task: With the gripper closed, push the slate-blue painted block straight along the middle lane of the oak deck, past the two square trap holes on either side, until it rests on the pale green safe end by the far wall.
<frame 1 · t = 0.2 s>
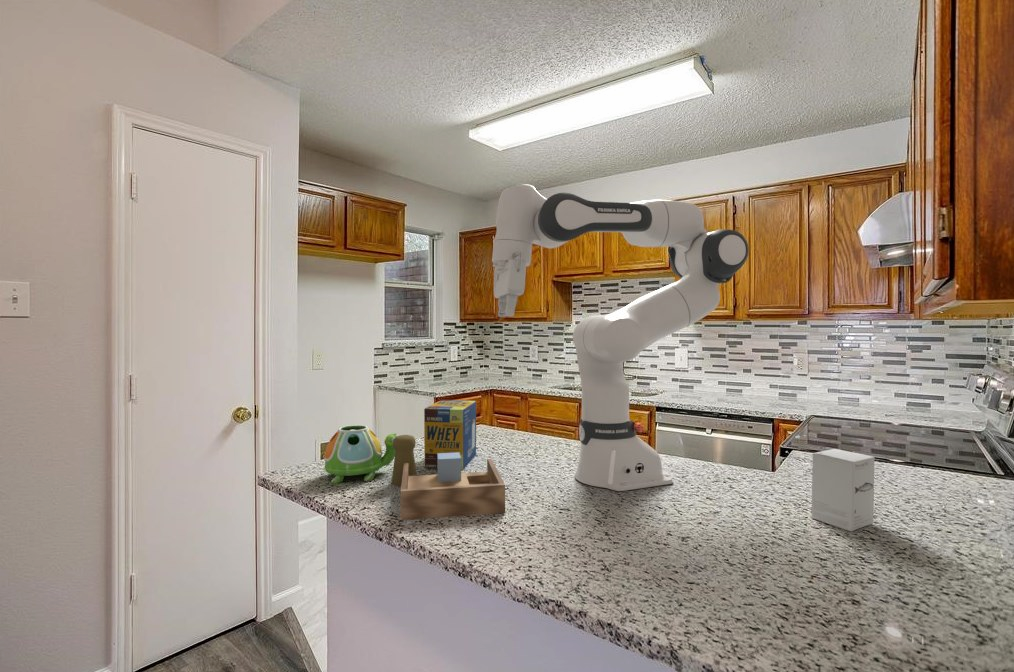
hand: (505, 316, 112), 39 cm above the countertop, tool pointing down, fingers open, 8 cm apart
turtle holder: (360, 475, 121), on the countertop
cork: (404, 483, 115), on the countertop
slate block: (449, 477, 110), point 2 cm above the countertop, touching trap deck
supplement box: (842, 522, 91), on the countertop
protein box: (451, 461, 133), on the countertop
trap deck: (451, 499, 104), on the countertop
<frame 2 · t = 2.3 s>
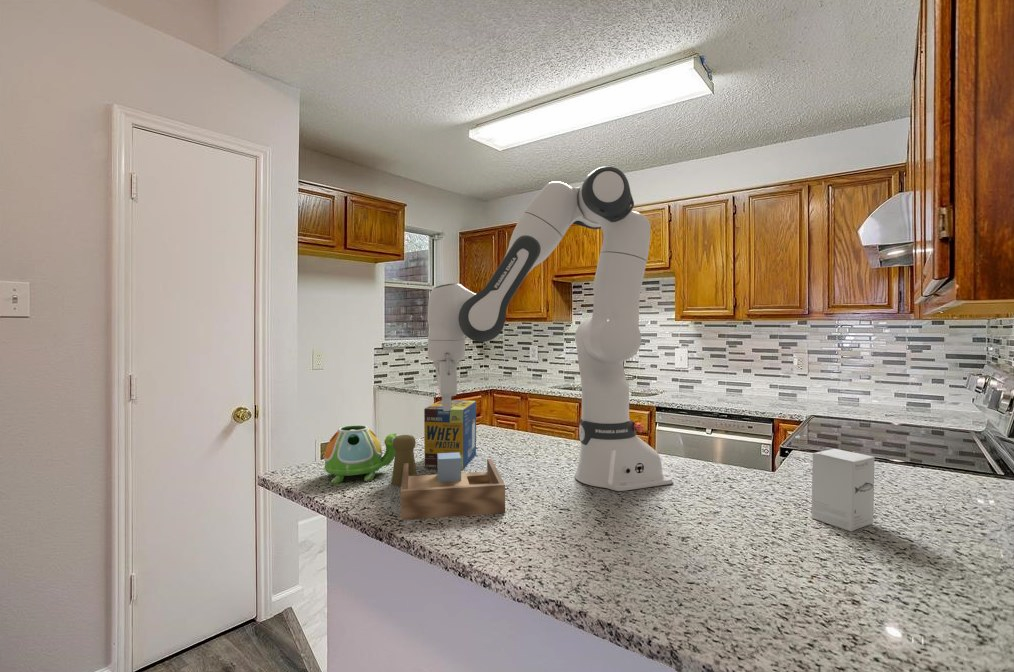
hand: (446, 410, 117), 16 cm above the countertop, tool pointing down, fingers closed
nothing on the countertop moved.
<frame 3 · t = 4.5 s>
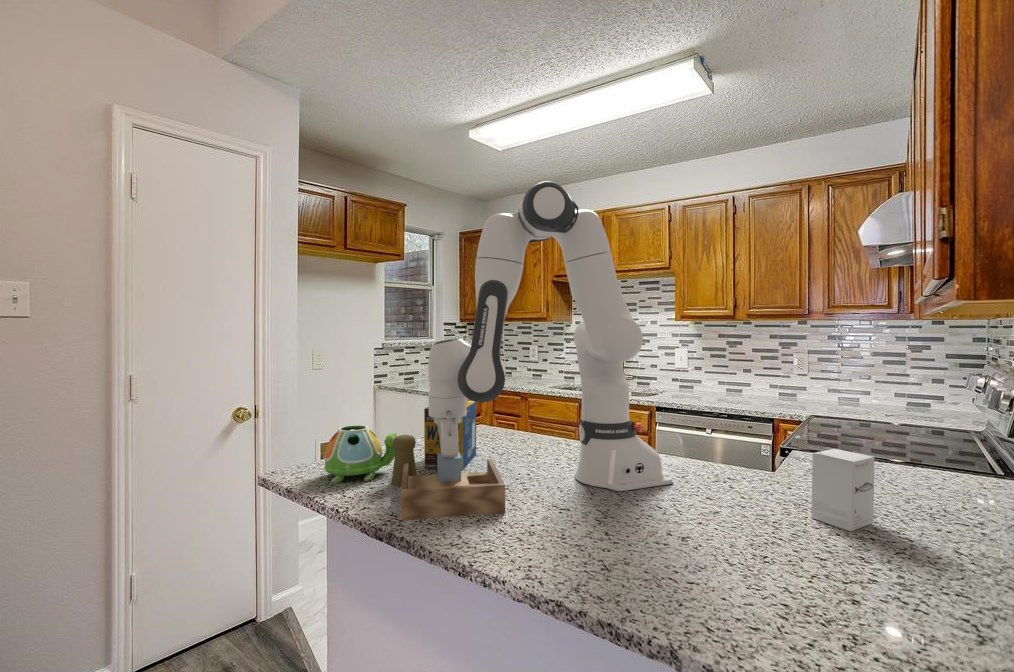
hand: (448, 466, 115), 4 cm above the countertop, tool pointing down, fingers closed
slate block: (449, 477, 110), point 3 cm above the countertop, touching gripper, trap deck
everything else where it was.
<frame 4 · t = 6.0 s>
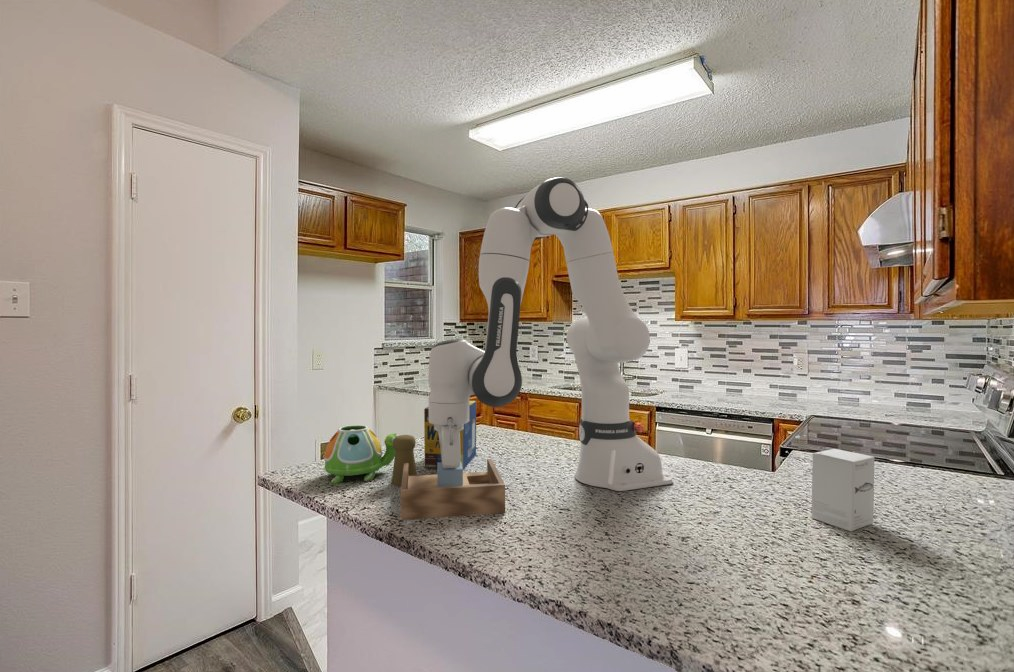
hand: (449, 477, 107), 4 cm above the countertop, tool pointing down, fingers closed
slate block: (449, 489, 102), point 3 cm above the countertop, touching gripper
everything else where it was.
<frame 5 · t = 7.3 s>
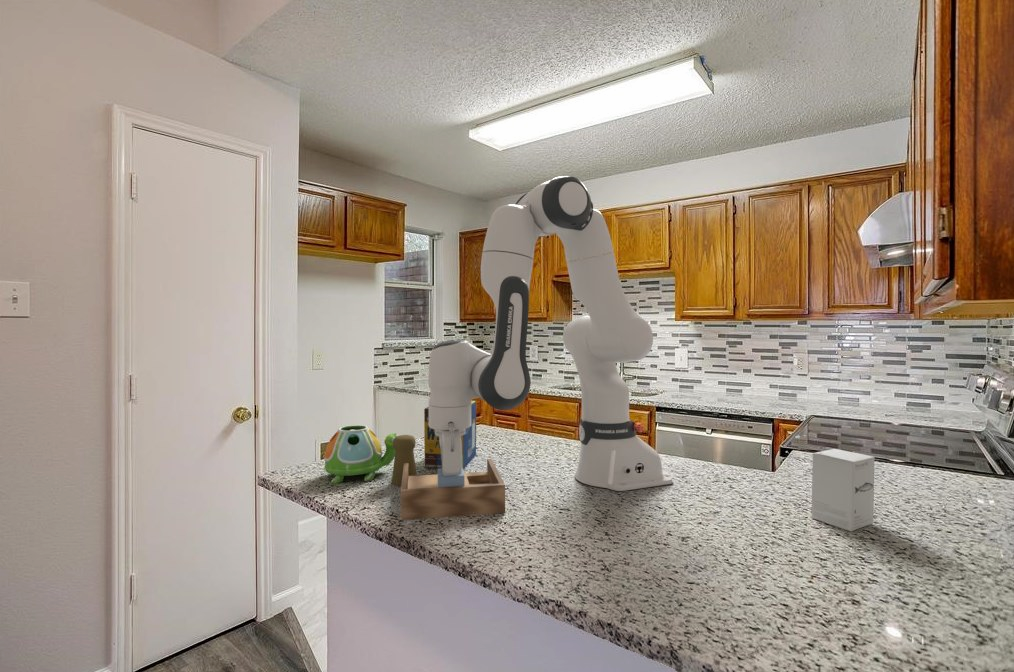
hand: (450, 484, 102), 4 cm above the countertop, tool pointing down, fingers closed
slate block: (450, 496, 98), point 3 cm above the countertop, touching gripper, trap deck
everything else where it was.
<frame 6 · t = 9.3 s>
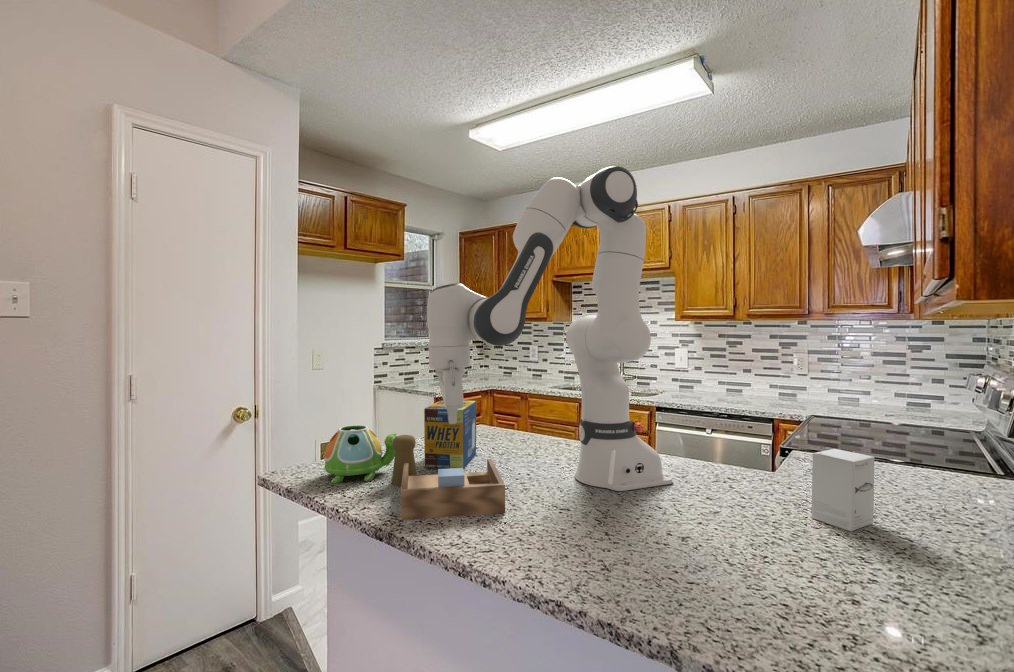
hand: (452, 422, 107), 16 cm above the countertop, tool pointing down, fingers closed
slate block: (451, 497, 98), point 2 cm above the countertop, touching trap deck
everything else where it was.
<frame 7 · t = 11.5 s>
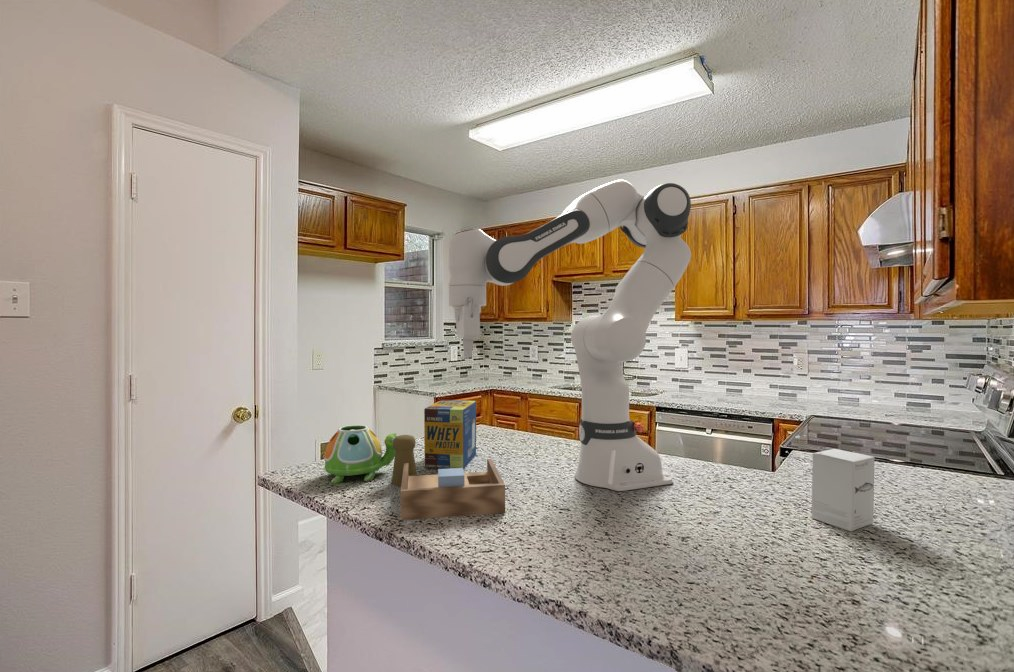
hand: (467, 357, 117), 29 cm above the countertop, tool pointing down, fingers closed
nothing on the countertop moved.
at the end: slate block inside the target area on the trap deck (0.3 cm from its centre), point 2.5 cm above the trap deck's base; slate block tilted 0° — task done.
